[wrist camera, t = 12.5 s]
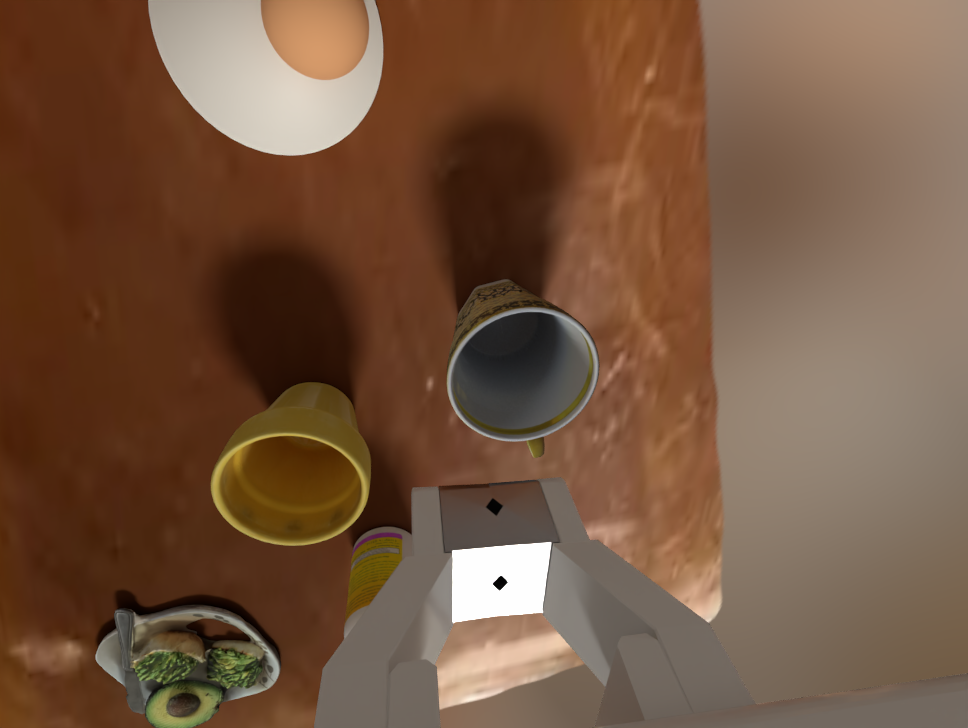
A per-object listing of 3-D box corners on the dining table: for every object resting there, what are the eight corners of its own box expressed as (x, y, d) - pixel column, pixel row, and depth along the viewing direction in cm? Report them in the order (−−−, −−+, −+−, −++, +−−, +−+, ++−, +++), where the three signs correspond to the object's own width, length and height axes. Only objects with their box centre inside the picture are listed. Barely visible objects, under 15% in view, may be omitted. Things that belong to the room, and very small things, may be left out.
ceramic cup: (423, 276, 37) (428, 330, 29) (549, 244, 38) (592, 288, 29) (462, 410, 44) (476, 488, 35) (569, 383, 44) (609, 453, 35)
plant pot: (245, 355, 38) (200, 429, 30) (379, 364, 40) (372, 435, 32) (253, 459, 43) (216, 547, 35) (373, 462, 45) (366, 547, 37)
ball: (302, 74, 24) (384, 94, 29) (305, -67, 22) (395, -22, 26) (240, 62, 27) (324, 82, 31) (237, -65, 25) (329, -24, 29)
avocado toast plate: (49, 615, 49) (18, 661, 45) (221, 568, 49) (205, 610, 45) (156, 708, 59) (138, 753, 55) (299, 669, 59) (291, 710, 55)
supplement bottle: (339, 547, 50) (320, 677, 39) (388, 513, 48) (382, 637, 37) (384, 577, 53) (378, 706, 42) (431, 546, 51) (438, 670, 40)
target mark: (183, 152, 31) (182, 153, 31) (117, -122, 25) (115, -124, 25) (389, 157, 33) (389, 157, 33) (375, -98, 27) (375, -100, 27)
